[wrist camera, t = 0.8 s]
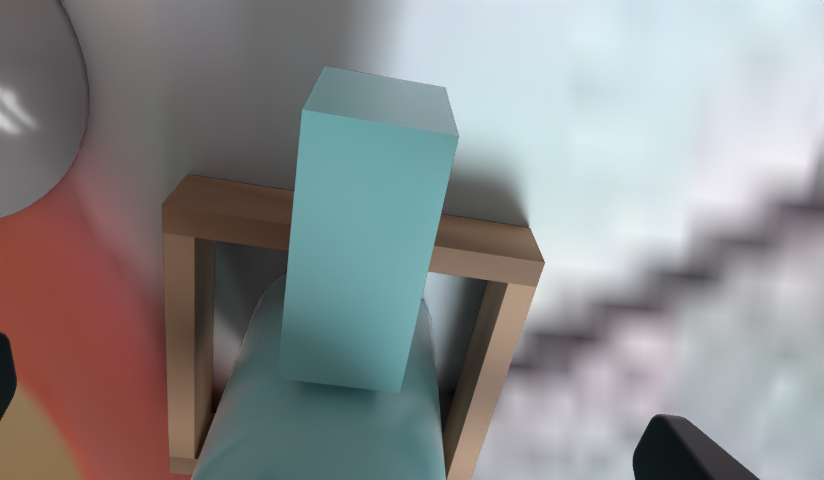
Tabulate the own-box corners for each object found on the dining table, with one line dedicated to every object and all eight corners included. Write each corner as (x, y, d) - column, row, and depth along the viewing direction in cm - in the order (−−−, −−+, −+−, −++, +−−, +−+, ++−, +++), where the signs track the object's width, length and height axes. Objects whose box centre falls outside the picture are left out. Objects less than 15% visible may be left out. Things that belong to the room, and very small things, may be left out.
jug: (415, 411, 21) (426, 738, 12) (247, 392, 20) (140, 721, 12) (501, 71, 15) (628, 258, 7) (268, 29, 14) (90, 177, 6)
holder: (457, 456, 22) (462, 503, 20) (188, 426, 21) (169, 472, 19) (530, 227, 17) (544, 262, 15) (187, 174, 16) (161, 205, 14)
